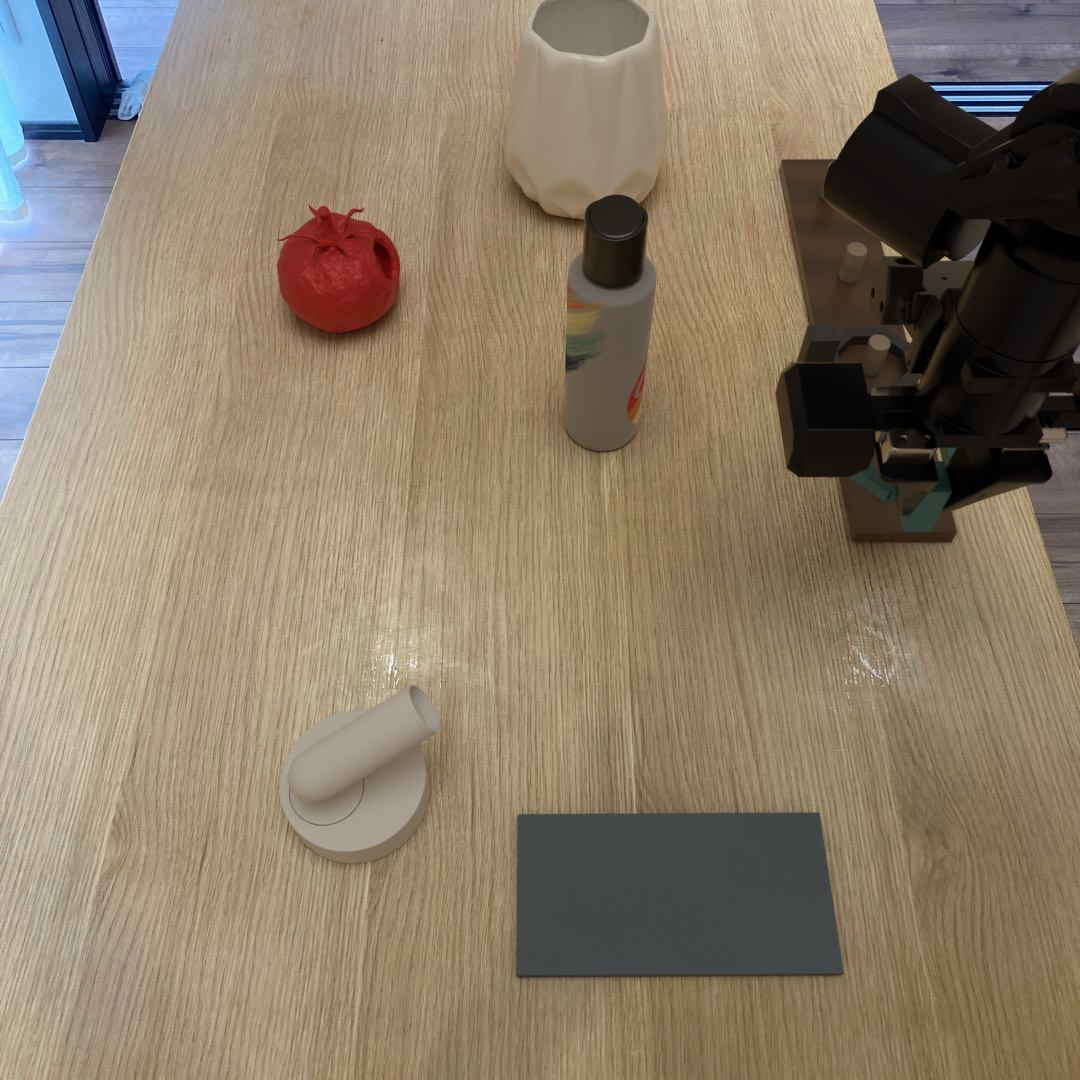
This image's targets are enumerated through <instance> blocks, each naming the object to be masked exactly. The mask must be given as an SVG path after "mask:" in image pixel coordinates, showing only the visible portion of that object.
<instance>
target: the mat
mask: <svg viewBox="0 0 1080 1080" xmlns="http://www.w3.org/2000/svg"><path fill="white" fill-rule="evenodd" d="M516 871H517V873H516V875H517V881H516V882H517V883H516V889H517V890H516V894H517V895H516V907H517V908H516V978H611V977H612V978H615V977H619V978H621V977H622V978H623V977H624V978H625V977H626V978H627V977H629V978H630V977H632V978H633V977H637V978H638V977H639V978H640V977H645V978H646V977H790V976H791V977H793V976H794V977H796V976H797V977H800V976H801V977H804V976H806V977H807V976H813V977H814V976H816V977H817V976H843V975H844V972H845V971H844V965H843V958H842V952H841V945H840V940H839V933H838V925H837V919H836V913H835V912H836V911H835V906H834V899H833V898H834V897H833V893H832V885H831V879H830V872H829V867H828V859H827V853H826V846H825V839H824V833H823V825H822V820H821V814H820V812H818V811H817V812H684V813H683V812H679V813H677V812H675V813H674V812H672V813H671V812H670V813H669V812H667V813H665V812H663V813H661V812H660V813H659V812H658V813H654V812H653V813H652V812H651V813H650V812H649V813H518V814H517V869H516Z"/></svg>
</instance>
